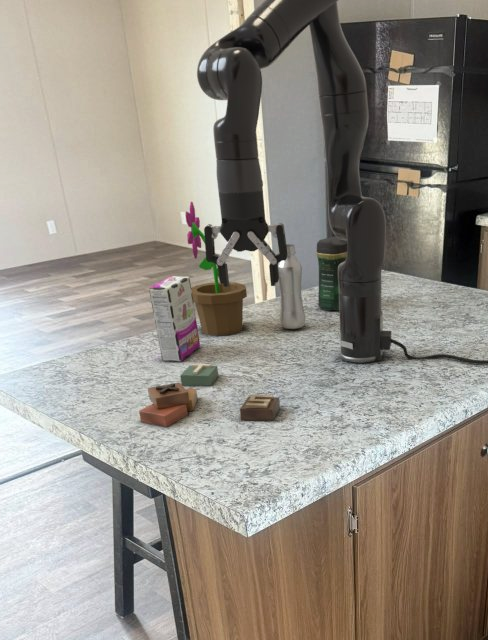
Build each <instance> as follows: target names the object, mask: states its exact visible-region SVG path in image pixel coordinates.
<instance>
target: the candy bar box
mask: <svg viewBox="0 0 488 640" xmlns="http://www.w3.org/2000/svg"><path fill="white" fill-rule="evenodd" d="M190 278H191V277H190V276H187V275H186V276H184V275H183V276H181V275H177V276H176V275H172V276H169V277H167V278H165V279H163V280H161V281H160V282H157V283H156V284H154V285H152V286H150V287H148V291H149V297H150V301H151V308H152V313H153V318H154V322H155V323H154V324H155V329H156V333H157V340H158V345H159V349H160V355H161V361H162V362H178V363H179V362H180V363H181V362H183V361H184V360H186V359H187V358H188V357H189V356H191V355H192V354H193V353H194V352H196V351H197V350H199V349H200V347H201V342H200V341H201V340H200V336H199V328H198V323H197V317H196V309H195V302H193V297H192V290H191V288H192V285H191V279H190Z"/></svg>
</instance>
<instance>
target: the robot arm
mask: <svg viewBox="0 0 488 640" xmlns="http://www.w3.org/2000/svg"><path fill="white" fill-rule="evenodd" d="M338 1H339V0H264V1H262V2H261V3H260V4H259V5H258V6H257V7H256V8H255V9H254V10H253V11H252V13H250V14H249V15H248V17H246V19H244V20H243V22H242V23H241V25H239V26H238V27H237V28H235V29H233V30H231V31H230V32H228V33H227V34H225V35H224V36H222V37H221V38H219V39H218V40H217V41H215V42H214V43H212V44H211V45H210V46H209V47H208V48H207V49H206V50H205V51H204V52H203V53H202V54H201V57H200V59H199V61H198V63H197V69H196V70H197V71H196V78H197V79H196V80H197V83H198V85H199V87H200V89H201V91H202V92H203V94H205V95H206V96H207V97H208V98H211V99H213V100H216V101H227V102H226V109H225V115H224V116H223V117H221V118H219V119H217V120H215V122H214V123H213V127H212V128H213V130H212V131H213V142H214V151H215V158H216V160H215V161H216V181H217V183H216V184H217V191H218V201H219V208H220V218H221V224H220V225H213V224H211V223H208V224H207V225H206V226H205V227H204V228H203V230H204V231H203V234H204V236H205V243H204V247H205V257H206V260H207V261H208V262H212V263H215V264H216V267H217V268H218V273H219V277H218V282H220V283H221V284H223V285H224V287H228V286H229V282H230V279H229V278H230V277H229V269H228V263H226V261H227V260H228V258H229V257H230V254H232V251H233V250H234V251H236V252H237V253H238V252H239V253H240V252H241V253H242V252H244V251H248V252H256V251H257V250H258V251H259V252H260V253H261V254H262V255H263V256H264V257H265V258H266V260H268V261H269V265H268V268H269V278H270V280H269V281H270V287H276V284H278V280H279V272H278V263H279V262H281V261H285V260H286V259H287V256H288V253H287V245H286V244H287V239H286V232H285V224H284V223H282V222H278V224H268V223H267V219H266V212H265V211H266V210H265V199H264V189H263V186H264V181H263V175H262V168H261V165H260V159H259V148H258V147H259V145H258V136H257V128H258V121H259V115H260V108H261V101H262V100H261V99H262V92H263V76H262V69H265V68H268V67H270V66H271V65H272V64H274V63H275V62H276V61H277V60H278V58H279V57H281V55H283V53H284V52H285V51H286V50H287V48H288V47H289V46H290V45H291V44H292V43H293V42H294V41H295V40H296V39H297V38H298V37H299V36H300V34H301V33H302V32H303V31H304V30H306V28H307V27H309V32H310V39H311V46H312V53H313V61H314V67H315V74H316V75H315V76H316V88H317V96H318V105H319V107H318V108H319V114H320V121H321V127H322V135H323V145H324V146H323V147H324V156H325V164H326V173H327V174H326V175H327V176H326V177H327V211H328V213H327V214H328V222H329V227H330V229H331V231H332V233H333V235H334V236H336V237H337V238H338V239H340V240H341V241H344V242H347V258H346V260H345V261H344V262H342V263H340V264H339V266H338V291H339V310H338V313H339V317H338V318H339V346H340V352H339V353H340V359H341V360H343V361H345V362H349V363H353V364H354V363H355V364H356V363H357V364H362V363H363V364H365V363H372V362H381V361H382V358H383V355H384V351H390V350H391V347H392V344H394V345H396V346H398V347H400V348H401V349H402V350H403V355H404V357H406V358H407V359H409V360H434V359H449V360H450V359H451V360H455V361H460V362H464V363H469V364H475V365H477V364H478V365H488V359H487V360H485V359H484V360H483V359H472V358H467V357H463V356H458V355H453V354H446V353H445V354H443V353H439V354H431V355H427V356H420V357H419V356H413V355H411V354H409V353H408V350H407V347H406V346H405V345H404V344H403V343H402V342H400V341H398V340H395V339H392V330H384V329H383V328H384V327H383V324H384V323H383V322H384V320H383V315H384V313H383V310H382V270H383V267H384V265H385V261H386V245H387V244H386V241H387V220H386V213H385V211H384V208H383V206H382V204H381V203H380V202H379V201H378V200H376V199H375V198H372V197H368V196H363V194H362V185H361V176H360V163H361V162H360V161H361V156H362V152H363V148H364V144H365V141H366V137H367V132H368V128H369V121H370V120H369V119H370V114H369V113H370V111H369V102H368V101H369V100H368V91H367V90H368V89H367V80H366V77H365V73H364V71H363V69H362V67H361V65H360V63H359V61H358V59H357V57H356V55H355V53H354V52H353V50H352V49H351V46H350V45H349V43H348V41H347V39H346V36H345V34H344V32H343V29H342V25H341V20H340V14H339V8H338ZM219 233H220V235H221V236H222V237H223V239H224V240H225V241H226V245H225V246H224V248H223V249H222V251H221V253H220V255H218V254H216V247H215V240H216V239H217V238H218V236H219ZM269 233H271V234H272V237H273V238H275V239H276V240H277V246H278V253H277V254H276V252H274V250H273V249H272V248H271V246H270V245H269V244H268V242H267V241H266V240H265V239H266V237H267V236H268V234H269Z"/></svg>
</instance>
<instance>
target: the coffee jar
mask: <svg viewBox="0 0 488 640" xmlns="http://www.w3.org/2000/svg"><path fill="white" fill-rule="evenodd" d="M316 258H317V263H318V298H317V299H318V308H320V309H322V310H324V311H329V312H331V311H339V291H338V266H339V264H340V263H342V262H344V261H345V260H346V258H347V242H344V241H341V240H340V239H338V238H337V237H336V236H335V235H334V236H330V237H326V238H321V239H319V240H318V241H317V243H316Z"/></svg>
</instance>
